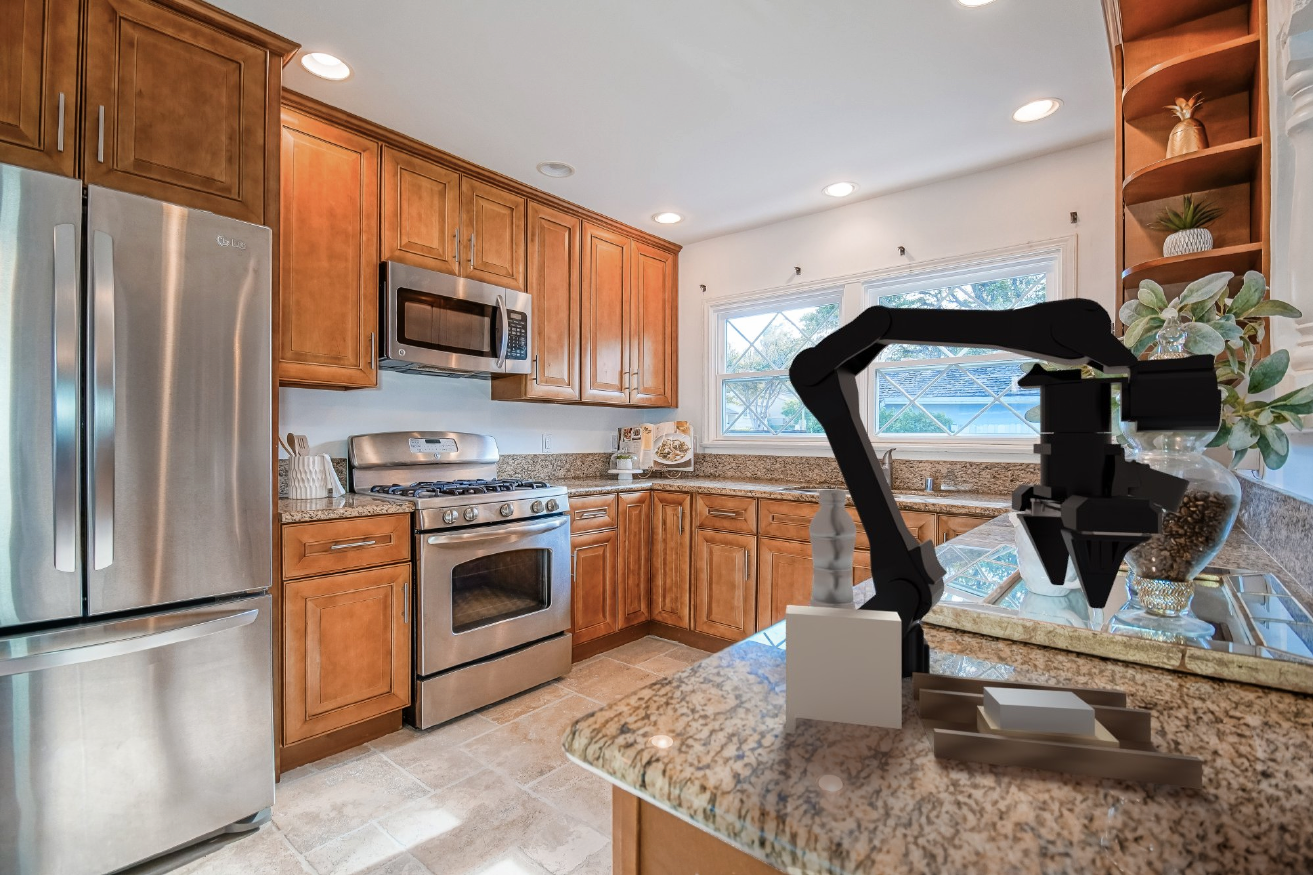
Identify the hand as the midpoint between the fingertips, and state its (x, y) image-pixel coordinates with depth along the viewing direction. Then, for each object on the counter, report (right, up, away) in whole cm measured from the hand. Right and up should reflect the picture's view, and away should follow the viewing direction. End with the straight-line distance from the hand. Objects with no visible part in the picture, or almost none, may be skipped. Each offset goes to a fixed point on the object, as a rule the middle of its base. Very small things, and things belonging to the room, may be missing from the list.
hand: (1075, 595), depth 59 cm
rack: (-8, -12, -6) cm, 15 cm away
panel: (-23, -12, -2) cm, 26 cm away
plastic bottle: (-16, -12, +27) cm, 33 cm away
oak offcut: (-8, -10, -8) cm, 16 cm away
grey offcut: (-9, -8, -8) cm, 15 cm away
